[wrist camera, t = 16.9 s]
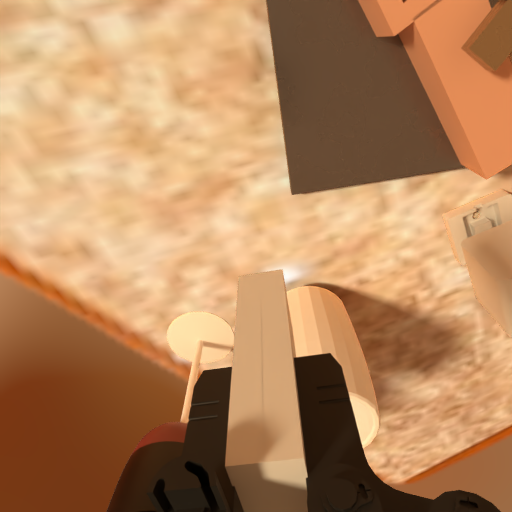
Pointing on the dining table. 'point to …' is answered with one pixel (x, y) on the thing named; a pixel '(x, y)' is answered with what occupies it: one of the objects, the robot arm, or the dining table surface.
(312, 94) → the base
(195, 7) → the dining table surface
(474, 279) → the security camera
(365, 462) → the robot arm
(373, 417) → the cup
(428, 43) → the link
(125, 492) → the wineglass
